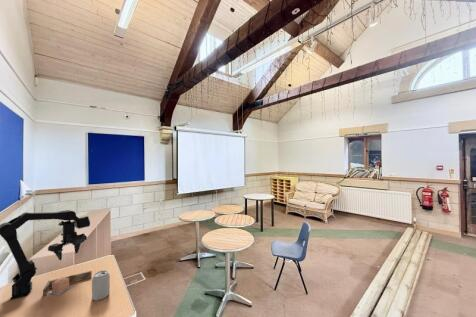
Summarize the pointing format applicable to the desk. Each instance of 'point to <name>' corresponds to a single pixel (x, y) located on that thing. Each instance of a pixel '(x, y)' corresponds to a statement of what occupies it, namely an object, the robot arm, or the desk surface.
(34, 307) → the desk surface
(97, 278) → the can
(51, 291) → the pad
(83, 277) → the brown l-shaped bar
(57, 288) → the cube
